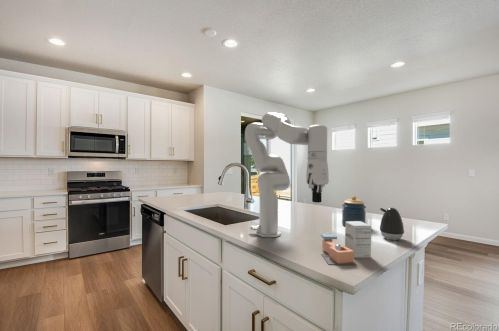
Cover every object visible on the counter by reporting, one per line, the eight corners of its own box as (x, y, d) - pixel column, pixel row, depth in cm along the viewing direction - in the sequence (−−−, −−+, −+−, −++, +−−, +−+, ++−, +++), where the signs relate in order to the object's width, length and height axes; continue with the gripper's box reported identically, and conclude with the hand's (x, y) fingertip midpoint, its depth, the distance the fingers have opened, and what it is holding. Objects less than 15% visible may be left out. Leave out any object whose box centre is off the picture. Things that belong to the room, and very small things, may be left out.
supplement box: (344, 251, 103) (344, 221, 102) (361, 250, 103) (361, 220, 103) (353, 258, 95) (353, 225, 95) (371, 257, 96) (371, 225, 96)
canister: (369, 228, 138) (370, 197, 138) (346, 228, 138) (347, 197, 138) (359, 223, 151) (360, 194, 151) (338, 223, 151) (339, 194, 151)
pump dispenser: (383, 234, 128) (383, 205, 127) (406, 238, 120) (406, 207, 120) (376, 238, 120) (376, 207, 120) (400, 243, 113) (400, 210, 113)
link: (353, 262, 90) (353, 251, 90) (338, 263, 89) (338, 252, 89) (332, 248, 104) (332, 239, 104) (318, 249, 103) (318, 240, 103)
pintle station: (328, 264, 89) (328, 249, 89) (321, 254, 99) (321, 240, 99) (356, 265, 88) (356, 250, 88) (346, 254, 98) (346, 241, 98)
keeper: (323, 250, 103) (323, 236, 102) (319, 246, 109) (320, 232, 109) (336, 251, 102) (337, 236, 102) (332, 246, 108) (332, 232, 108)
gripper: (316, 155, 90) (315, 205, 91) (334, 156, 101) (334, 201, 101) (298, 156, 96) (298, 203, 96) (318, 157, 106) (317, 199, 106)
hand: (316, 202), depth 98 cm, fingers closed
